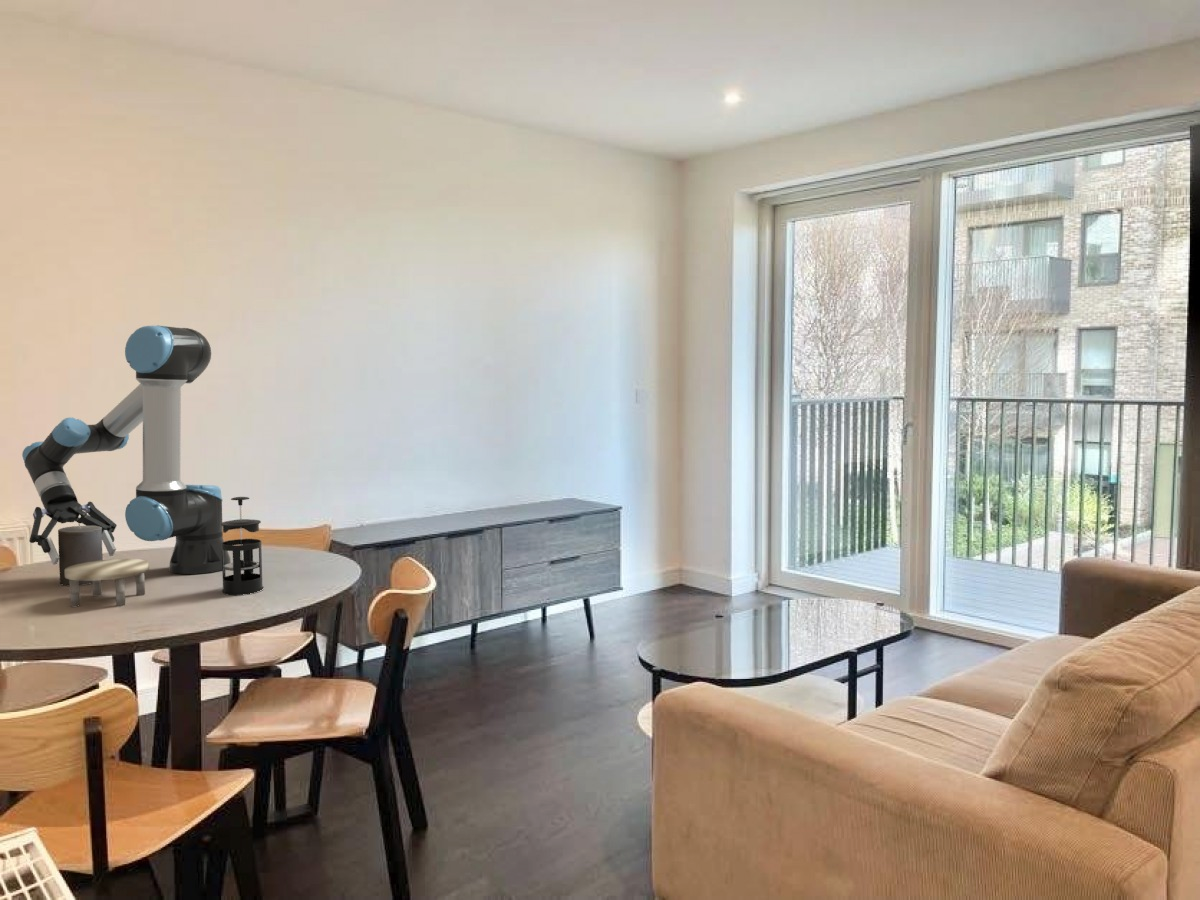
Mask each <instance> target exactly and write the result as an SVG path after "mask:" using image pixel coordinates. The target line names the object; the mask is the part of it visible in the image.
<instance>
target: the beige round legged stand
mask: <svg viewBox="0 0 1200 900" xmlns="http://www.w3.org/2000/svg"><path fill="white" fill-rule="evenodd" d="M149 569H150V567H149V561H147V560H145V559H141V558H140V559H139V558H114V559H113V558H112V559H111V558H110V559H103V560H99V561H92V562H86V563H81V564H76V565H73V566H70V567H67V568H66V569H65V578H66V579H69V584H70V586H69V600H70V601H69V602H70V607H71V606H77V607H79V606H78V605H81V602H80V585H79V581H92V583H93V584H92V596H93V595H100V596H102V595H101V594H103V592H102V581H109V580H114V582H115V584H114V585H115V606H116V607H123V605H124V606H125V605H126V593H125V592H126V591H125V587H126V586H125V578H129V577H130V578H131V577H134V576H135V586H136V587H135V589H136V590H135V591H136V596H144V594H145V595H146V586H145V584H146V582H145V573H146V572H148V571H149ZM101 580H102V581H101Z"/></svg>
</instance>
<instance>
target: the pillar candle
mask: <svg viewBox="0 0 1200 900" xmlns="http://www.w3.org/2000/svg"><path fill="white" fill-rule="evenodd" d="M80 524H81V523H78V525H76V526H75V525H74V526H66V527H62V528H59V529H58V530H57V532H58V533H57V534H58V535H57V536H58V538H57V539H58V540H57V541H58V544H57V545H58V555H59V557H60V558H59V560H58V566H59V567H58V568H59V582H58V583H59V585H61V584H63V585H62V586H67V585H70V584H69V579H66V578H65V569H66V568H67V567H70V566H73V565H76V564H81V563H86V562H92V561H99V560H104V558H103V554H104V553H103V540H102V527H99V526H86V525H80ZM89 583H92V581H79V586H83V585H82V584H87V585H90V584H89Z"/></svg>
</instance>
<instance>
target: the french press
mask: <svg viewBox="0 0 1200 900" xmlns="http://www.w3.org/2000/svg"><path fill="white" fill-rule="evenodd" d="M249 499H250V497H249V496H234V497H232V498H231V499H230V500H231V501H237V503H238V506H239V519H233V520H232V519H231V520H226V521H222V523H221V525H222V527H223V533H224V534H225V533H227V532H228V531H230V530H238V529H239V530H240V531H239V533H240V538H239V539H230V540H225V541H224V542H222V570H221V571H222V590H221V593H222V594H223V595H226V594H228V596H244V595H243V594H247V595H251V594H250V593H253V594H255V593H254V592H257V591H260V590H262V589H263V588H264V586H263V560H262V559H263V558H262V556H263V555H262V552H263V551H262V539H261V540H260V539H256V538H243V529H244V530H245V531H248V532H249V533H256V532H259V530H260V524H261V522H262V521H261V520H258V519H249V518H243V519H242V506H243V501H245V500H249ZM257 549H258V561H254V551H253V550H257ZM225 550H226V551H229V552H232V562H231V563H229V564H226V565H225ZM258 568H259V573H256V572H255V573H254V569H258ZM226 571H231V572H232V573H233V574H231V575H227V576H226ZM242 571H243V573H242ZM263 590H264V589H263ZM263 590H262V591H263ZM260 592H261V591H260ZM257 593H258V592H257Z"/></svg>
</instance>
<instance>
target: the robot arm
mask: <svg viewBox="0 0 1200 900" xmlns="http://www.w3.org/2000/svg"><path fill="white" fill-rule="evenodd" d="M124 355H125V360H126V363H128V365H129V367H130V368H131V369H132V370H133V371H135V380H136V381H137V382H138V383H139V384H138V385H137V386H136V387H134V389H133V390H132V391H131V392H130V393H129V394H127V396H126V397H124V398H123V399H122V400H121V401H120V402H119V403H117V405H116V406H115V407H113V409H111V410H110V411H109V412H108V413H107V414H106V415H105V416H104V417H103V418H102V419H100V420H99V421H98V422H97V423H95V424H87V423H86V422H84V421H83V420H81V419H80V418H74V417H65V418H64V419H62V420H61V421H60V422H59V423H58V424H57V425H55V427H54V428H53V429H52V430H51V432H50V433H49V435H47V436H46V438H45V439H44V441H36V442H33V443H31V444H30V445H27V446H26V447H25V448H24V449H23V451H22V454H21V455H22V460H23V463H24V466H25V469H26V470H27V472H28V474H29V476H30V478H31V481H32V483H33V485H34V487H35V490H36V491H37V494H38V496H39V498H40V501H41V503H42V506H43V507H44V508H41V507H40V506H36V507H35V509H34V511H33V514H32V517H33V519H34V521H33V525H32V528H31V532H30V537H29V543H31V544H34V543H37V545H38V546H40V547H41V549H42V552H43V553H44V554H48V556H49V558H50V561H51V563H52V565H53V566H55V565H58V563H59V558H60V557H59V552H58V550H57V548H56V546H55V544H54V541H53V539H52V537H51V536H50V534H51V533H52V531H53V529H54V528H55V526H56V525H57V524H58V523H60V524H66V523H75V522H76V523H78V524H79V523H80V524H83V526H99V527H102V543H103V544H104V547H105V549H106V551H107V553H108V555H109V556H110V557H111V556H114V554H115V552H116V550H117V548H116V545H115V543H114V542H115V537H114V535H113V533H114V532H115V530H116V528H117V523H115V522H114V521H113V520H112V519H110V517H108V516H107V515H105V514H104V513H103V512H102V511H101V510H99V509H98V508H97V507H96V506H95V504H94V503H93V501H88V502H87V504H81V503H79V501H78V497H77V496H76V494H75V491H74V488H73V487H72V485H71V482H70V481H69V478H68V477H67V473H66V472H65V470H64V468H63V467H64V466H65V465H66V464H67V463H68V462H69V461H70V460H71V459H72V458H73V457H74V456H75V455H76V454H87V453H89V454H90V453H97V452H99V453H100V452H113V451H117V450H121V449H123V448H125V446H127V444H128V440H130V439H129V437H130V433H132V431H134V430H135V429H136V428H137V427H138V426H139V425H140V424H141V423H142V479H141V480H142V481H141V482H140V483H139V484H137V485H136V487H135V497H134V498H132V499H131V500H130V501H129V503H128V504H127V505H126V507H125V512H124V517H125V522H126V525H127V527H128V529H129V530H130V531H131V532H132V533H133V535H134V536H135V537H137V538H138V539H140V540H142V541H145V542H156V541H161V542H162V541H165V540H167V539H170V538H171V539H172V538H175V544H174V547H173V550H172V553H171V556H170V557H171V558H170V560H169V572H171V573H172V574H173V573H174V574H181V575H185V574H186V575H195V574H209V573H215V572H219V571H222V542H225V541H224V535H223V526H222V525H221V523H222V522H223V498H222V490H221V488H220V487H219V486H218V485H210V484H209V485H208V484H205V485H204V484H185V483H184V482H182V480H181V418H182V417H181V413H182V412H181V405H182V404H181V402H182V401H181V399H182V398H181V396H182V393H181V392H182V391H181V389H182V386H184V384H186V385H187V384H192V383H193V382H194V381H195V380H197V378H199V377H200V376H201V375H202V373H203V372H204V371H205V370H206V369H207V368H208V366H209V364H210V362H211V359H212V349H211V344H210V343H209V341H208V340H207V338H206V337H205V336H204V335H203V334H202V333H201V332H199V331H197V330H194V329H193V328H188V327H175V326H167V325H166V326H165V325H143V326H141V327H139V328H136V329H135V330H134V332H133V333H131V334H130V336H129V337H128V339H127V341H126V343H125V347H124ZM45 515H46V516H47V517H49V518H50V521H49V522H48V524H47V526H45V529H44V530H43V532H42V533H41V534H39V531H40V527H41V524H42V523H41V522H42V519H43V518H44V516H45ZM79 516H80V517H79ZM49 536H50V537H49ZM229 563H232V561H231V556H230V554H229V552H228V551H226V550H225V565H226V564H229Z"/></svg>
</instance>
